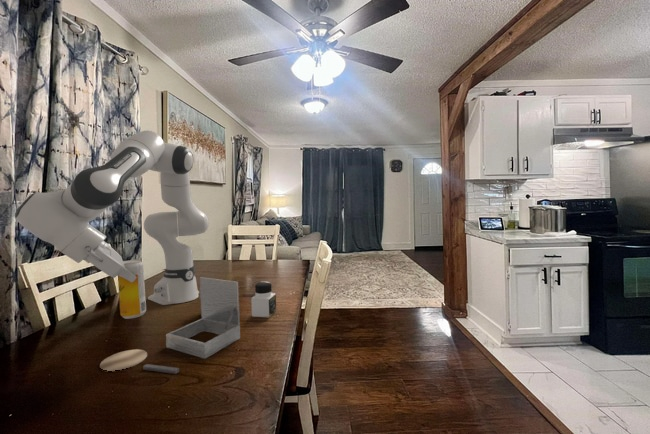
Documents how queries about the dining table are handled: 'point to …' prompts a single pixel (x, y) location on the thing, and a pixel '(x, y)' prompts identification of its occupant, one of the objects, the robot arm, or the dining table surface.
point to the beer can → (132, 291)
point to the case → (211, 320)
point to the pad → (123, 360)
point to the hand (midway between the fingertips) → (133, 277)
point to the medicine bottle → (263, 300)
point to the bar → (161, 368)
